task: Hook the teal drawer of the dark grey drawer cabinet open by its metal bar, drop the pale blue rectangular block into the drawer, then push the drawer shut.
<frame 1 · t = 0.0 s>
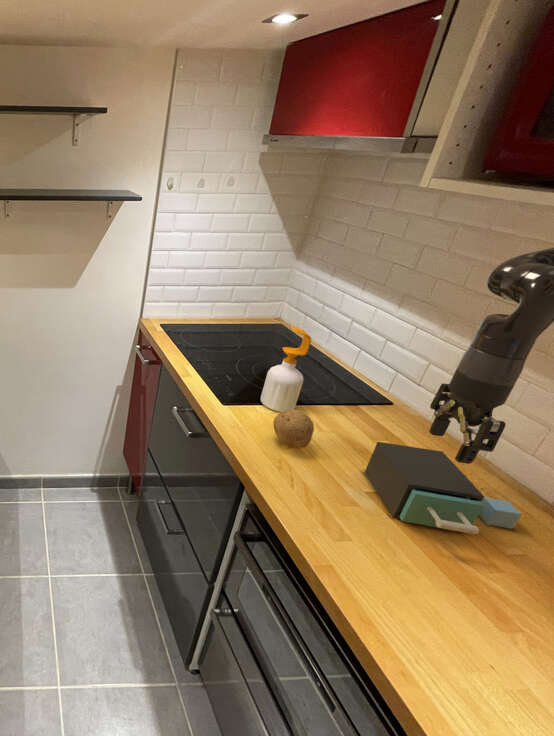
hand: (448, 447, 85), 19 cm above the worktop, tool pointing down, fingers open, 8 cm apart
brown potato: (287, 444, 115), on the worktop
soap bottle: (276, 404, 132), on the worktop
teal drawer: (430, 499, 92), point 5 cm above the worktop, slide at 0.5 cm
dark grey drawer cabinet: (410, 499, 98), on the worktop
pale blue rectangular block: (493, 519, 93), on the worktop
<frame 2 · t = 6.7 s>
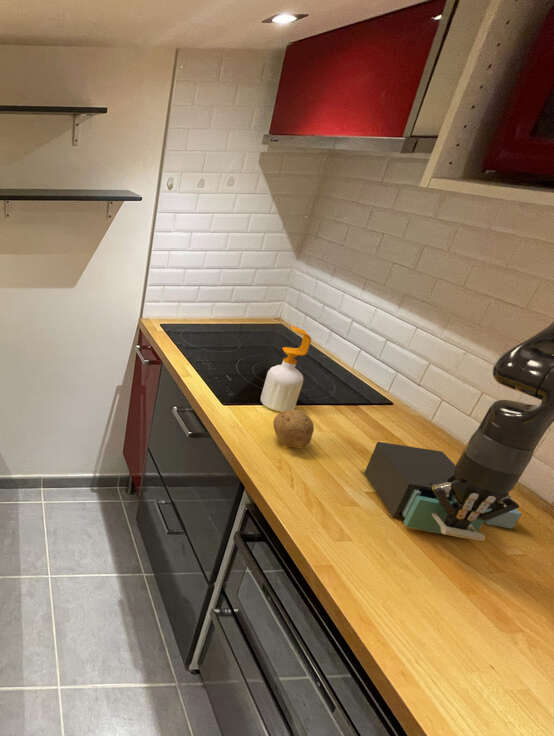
hand: (452, 529, 85), 4 cm above the worktop, tool pointing down, fingers closed
teal drawer: (435, 504, 90), point 5 cm above the worktop, slide at 2.1 cm, touching gripper
everything else where it was.
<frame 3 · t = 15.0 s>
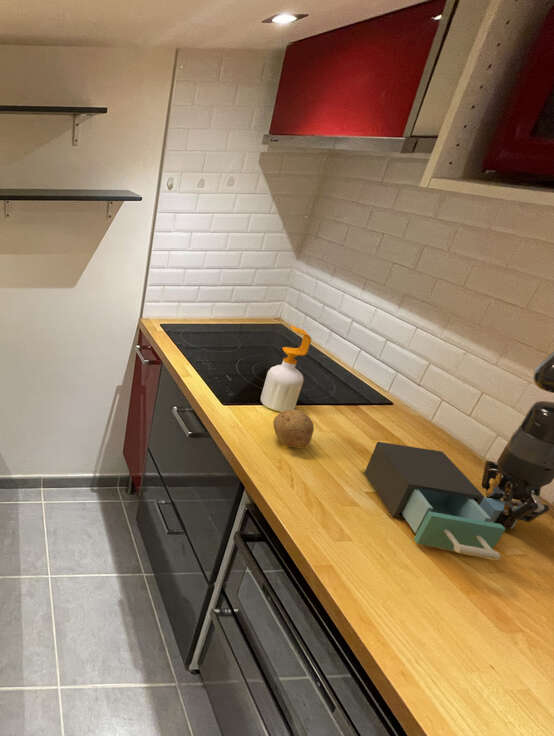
hand: (493, 519, 93), 0 cm above the worktop, tool pointing down, fingers closed on pale blue rectangular block, 3 cm apart
teal drawer: (447, 520, 87), point 5 cm above the worktop, slide at 6.3 cm
pale blue rectangular block: (493, 519, 93), on the worktop, touching gripper
everything else where it was.
when the fingers open (10 cm above the worktop, at t = 29.1 s): pale blue rectangular block drops 8 cm, resting on teal drawer.
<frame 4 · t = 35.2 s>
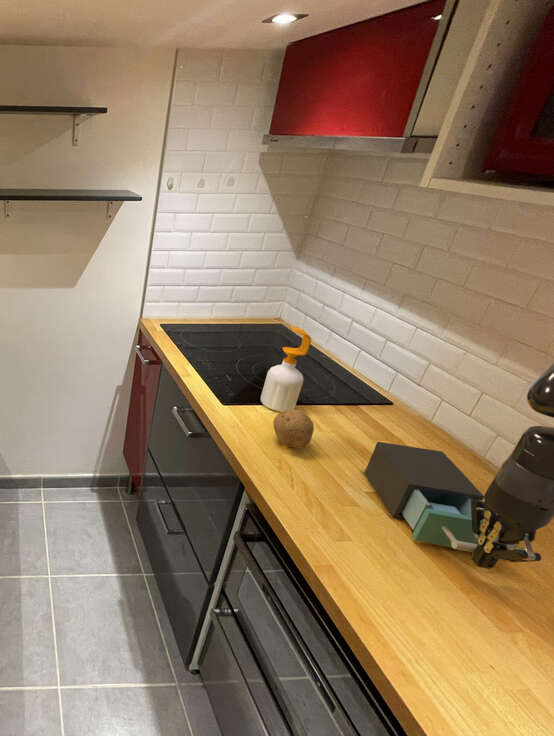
hand: (480, 564, 78), 4 cm above the worktop, tool pointing down, fingers closed
teal drawer: (444, 517, 87), point 5 cm above the worktop, slide at 5.5 cm, touching gripper, pale blue rectangular block
pale blue rectangular block: (438, 526, 89), point 2 cm above the worktop, touching teal drawer
everything else where it was.
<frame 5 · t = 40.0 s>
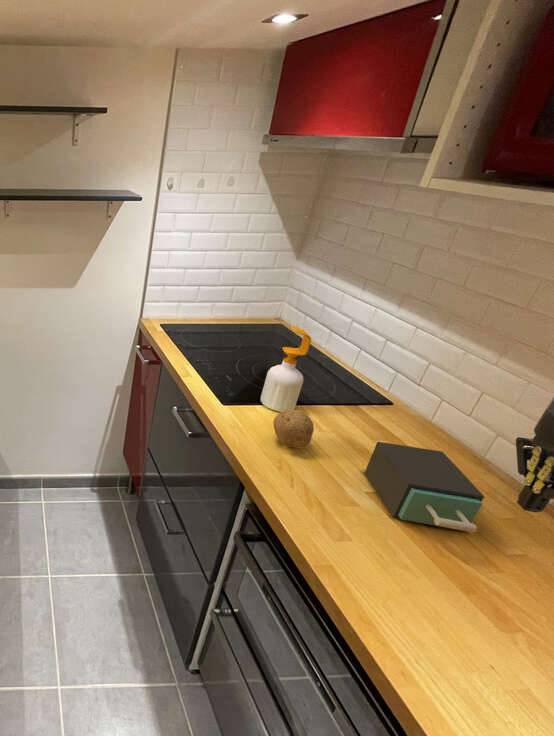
hand: (527, 508, 71), 19 cm above the worktop, tool pointing down, fingers closed
teal drawer: (429, 497, 92), point 5 cm above the worktop, slide at 0.0 cm, touching dark grey drawer cabinet, pale blue rectangular block
pale blue rectangular block: (423, 505, 93), point 2 cm above the worktop, touching teal drawer
everything else where it was.
at the end: teal drawer pulled out 6.3 cm at the most during the clip, back to where it started at the end; pale blue rectangular block inside the target area in the dark grey drawer cabinet (3.5 cm from its centre), point 2.0 cm above the dark grey drawer cabinet's base; teal drawer slide at 0.0 cm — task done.
